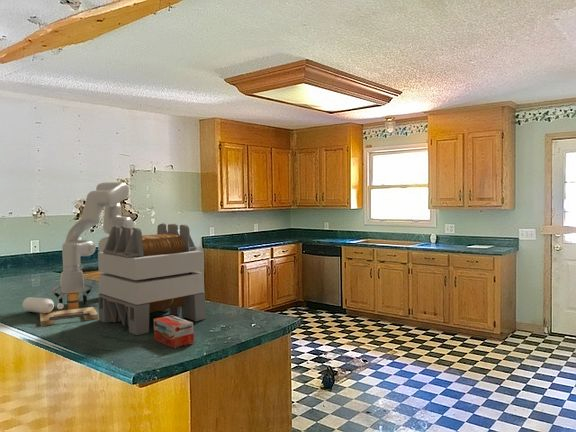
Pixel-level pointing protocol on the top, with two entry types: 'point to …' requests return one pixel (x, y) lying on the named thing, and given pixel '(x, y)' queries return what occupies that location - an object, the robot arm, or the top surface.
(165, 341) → the medicine box
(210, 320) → the top surface
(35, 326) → the top surface
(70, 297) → the banded orange cylinder
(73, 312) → the oak frame
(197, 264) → the transformer
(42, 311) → the water bottle
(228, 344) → the top surface
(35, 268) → the top surface
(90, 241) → the robot arm
